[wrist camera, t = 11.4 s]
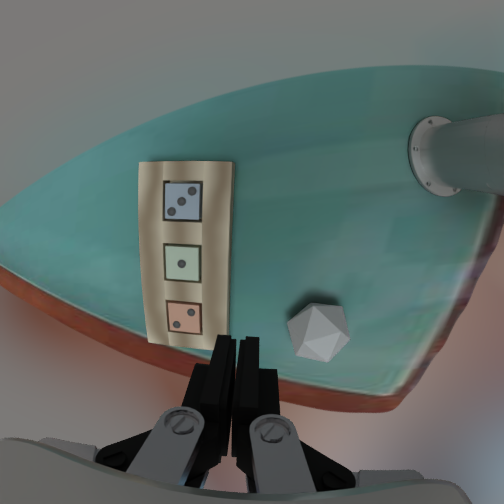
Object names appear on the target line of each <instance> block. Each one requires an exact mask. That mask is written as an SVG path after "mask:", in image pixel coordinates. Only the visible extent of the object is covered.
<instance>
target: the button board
mask: <svg viewBox="0 0 504 504" xmlns="http://www.w3.org/2000/svg"><path fill="white" fill-rule="evenodd" d="M234 175H235V163H234V162H223V161H158V162H139V184H138V217H139V248H140V266H141V280H142V292H143V302H144V312H145V320H146V328H147V336H148V342H150V343H157V344H164V345H171V346H179V347H188V348H197V349H206V350H214V346H215V342H216V338H217V335H218V334H220V335H229V314H230V276H231V246H232V219H233V196H234ZM166 183H203V203H202V218H200V219H199V220H194V219H167V218H165V184H166ZM169 243H176V244H194V245H202V276H201V277H200V279H199V281H193V280H180V279H168V278H167V277H166V250H165V246H166V245H168V244H169ZM170 300H175V301H186V302H197V303H202V329H201V331H200V333H191V332H182V331H174V330H170V323H169V310H168V302H169V301H170Z"/></svg>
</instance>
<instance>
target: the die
mask: <svg viewBox="0 0 504 504" xmlns="http://www.w3.org/2000/svg"><path fill="white" fill-rule="evenodd" d="M287 325H288V329H289V332H290V336H291V340H292V344H293V347H294V351H295V355H296V356H301V357H305V358H309V359H314V360H318V361H323V362H329V361H330V360H331V359H332V358H333V357H334V356H335V355H336V354H337V353H338V352H339V351H340V350H341V349H342V348H343V347H344V346H345V345H346V343H347V342H348V341H349V340H350V336H349V331H348V327H347V323H346V319H345V315H344V311H343V307H342V306H336V305H327V304H319V303H310V304H308V305H307V306H306V307H305V308H304V309H303V310H301V311H300V312H299V313H298V314H297V315H295V316H294V317H293V318H292V319H290V320H289V321H288V322H287Z"/></svg>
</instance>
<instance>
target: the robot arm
mask: <svg viewBox="0 0 504 504" xmlns="http://www.w3.org/2000/svg"><path fill="white" fill-rule="evenodd" d="M413 148H414V150H413ZM408 152H409V160H410V165H411V168H412V170H413V173H414V175H415V177H416V179H417V180H418V182H419V183H420V184H421V185H422V187H424V188H425V189H426V190H427V191H428V192H430V193H432V194H434V195H437V196H443V197H447V196H452V195H455V194H456V193H458V192H459V191H460V190H461V189H465V190H472V191H479V192H485V193H491V194H496V195H502V196H504V113H502V114H496V115H489V116H483V117H478V118H472V119H467V120H462V121H456V122H451V121H450V120H448V119H446V118H444V117H440V116H431V117H427V118H425V119H423V120H421V121H420V122H419V123H417V125H416V126H415V127H414V129H413V131H412V133H411V136H410V140H409V148H408ZM426 183H427V184H426ZM235 366H236V339H231V335H220V334H218V335H217V338H216V342H215V346H214V350H213V354H212V357H211V361H210V365H208V364H199V363H196V364H195V366H194V369H193V372H192V375H191V378H190V381H189V384H188V388H187V391H186V394H185V397H184V400H183V403H182V406H181V407H174V408H171V409H168V410H167V411H165V412H164V413H163V414H162V415H161V417H160V418H159V420H158V421H157V423H156V425H155V426H154V428H153V429H152V430H149V431H147V432H144V433H141V434H139V435H136V436H133V437H131V438H128V439H125V440H123V441H120V442H117V443H114V444H111V445H108V446H106V447H104V448H102V449H97V448H96V446H93V445H87V444H81V443H75V442H69V441H64V440H60V439H55V438H43V439H41V440H40V441H38V442H37V441H33V440H29V439H22V438H3V439H0V504H472V502H471V501H470V499H469V498H468V496H467V495H466V493H465V492H464V491H463V490H462V489H461V488H460V487H459V486H458V485H456V484H455V483H452V482H450V481H445V480H438V479H424V477H423V476H422V475H421V474H420V473H419V472H417V471H415V470H360V471H359V472H351V471H350V470H349V469H347V468H345V467H344V466H342V465H340V464H339V463H337V462H335V461H333V460H331V459H330V458H328V457H326V456H325V455H323V454H321V453H320V452H318V451H316V450H315V449H313V448H312V447H310V446H308V445H306V444H305V443H304V442H302V441H300V440H299V437H298V434H297V431H296V428H295V426H294V424H293V423H292V422H291V421H290V420H289V419H287V418H285V417H283V416H280V404H279V389H278V374H277V369H261V368H259V337H248V336H246V340H240V347H239V355H238V363H237V371H236V379H235ZM231 419H232V457H237V463H236V466H237V467H238V468H239V469H241V470H242V471H243V472H244V473H245V474H246V484H247V491H248V493H238V492H225V491H216V490H207V489H203V488H204V485H205V482H206V479H207V477H208V474H209V469H210V468H212V467H214V466H216V465H218V463H221V456H227V452H228V444H229V435H230V427H231Z"/></svg>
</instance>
